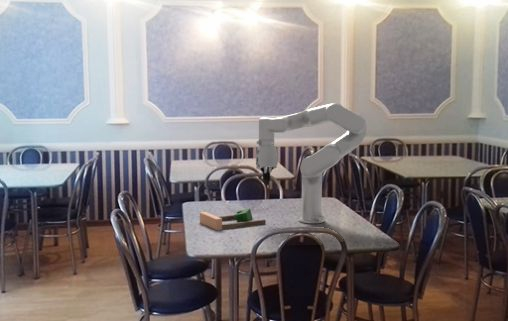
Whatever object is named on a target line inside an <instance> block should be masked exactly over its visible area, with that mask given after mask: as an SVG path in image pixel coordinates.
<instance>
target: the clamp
mask: <svg viewBox="0 0 508 321" xmlns="http://www.w3.org/2000/svg"><path fill="white" fill-rule="evenodd" d="M251 210H252V209H251V208H250V207H249V208H245V209H241V210H237V211H236V213H235V214H233V215H234V216H235V218H236V219H235V220H236V223H238V222H246V221H254V219H253V215H252V211H251Z"/></svg>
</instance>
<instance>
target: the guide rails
mask: <svg viewBox="0 0 508 321" xmlns="http://www.w3.org/2000/svg"><path fill="white" fill-rule="evenodd" d="M234 215H235V214H229V215H228V214H227V215H220V216H219V215H218V217H219V218H222V222H223V221H232V220H233V221H235V220H236V218H235V216H234ZM266 222H267V221H266V219H263V218H262V219H255V220H254V219H253V220H252V221H246V222H238V223H237V222H232V223H231V222H230V223H222V230H227V229H228V230H229V228H230V229H237V227H238V228H245V227H254V226H262V225H266Z"/></svg>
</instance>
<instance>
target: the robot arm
mask: <svg viewBox="0 0 508 321" xmlns="http://www.w3.org/2000/svg"><path fill="white" fill-rule="evenodd" d="M329 123H333V124H335V125H337V126H338V127H341V128H343V129H344V130H346V132H345V133H344V134H343V135H341V136H340V137H338V138H337V139H335V140H333V141H331V142H330V143H328V144H326V145H324V146H323V147H322V148H321V149H319V150H317V151H316V152H314V153H313V154H312V155H309V156H306V157H305V158H304V159H303V160H302V162H301V163H300V167H299V169H300V173H301V216H300V217H298V220H297V221H298V222H300V223H302V224H303V223H304V224H321V223H324V222H326V221H325V216H323V212H322V209H323V208H322V207H323V206H322V203H323V202H322V201H323V200H322V199H323V195H322V193H323V173H324V172H326V171H327V170H329V169H330V168H333V167H334V166H335V165H337V163H338V162H340V160H341V159H342V158H344V157H345V156H347V155H348V154H349V153H351V152H352V151H354V150H355V149H357V147H358V146H360V145H361V144H362V142H363V141H364V139H365V137H366V134H367V122H366V119H365V117H364V116H362V115H361V114H357V113H355V112H353V111H352V110H349V109H347V108H346V107H344V106H343V105H342V104H341V103H338V102H333V103H328V104H324V105H321V106H317V107H312V108H308V109H305V110H303V111H300V112H297V113H293V114H289V115H284V116H280V117H276V118H275V117H274V118H273V117H267V116H266V117H264V116H263V117H260V118H258V141H256V144H257V145H258V146H257V147H256V153H255V154H256V155H255V165H256V167H255V168H256V170H260V171H261V173H262V180H263V182H270V181H271V173H272V171H273V170H274V169H276V168H277V166H278V164H279V159H278V156H279V155H278V150H277V146H276V145H275V133H276V134H277V133H278V134H284V133H287V132H290V131H294V130H298V129H302V128H312V127H317V126H320V125H321V126H322V125H325V124H329Z"/></svg>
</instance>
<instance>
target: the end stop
mask: <svg viewBox="0 0 508 321" xmlns="http://www.w3.org/2000/svg"><path fill="white" fill-rule="evenodd" d="M199 223H200V224H202V225H204V226H206V227H208V228H210V229H212V230H216V231H219V230H220V231H221V230H223V229H222V224H223V221H222V218H219V216H216V215H214V214H211V213H209V212H207V211H200V212H199Z"/></svg>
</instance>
